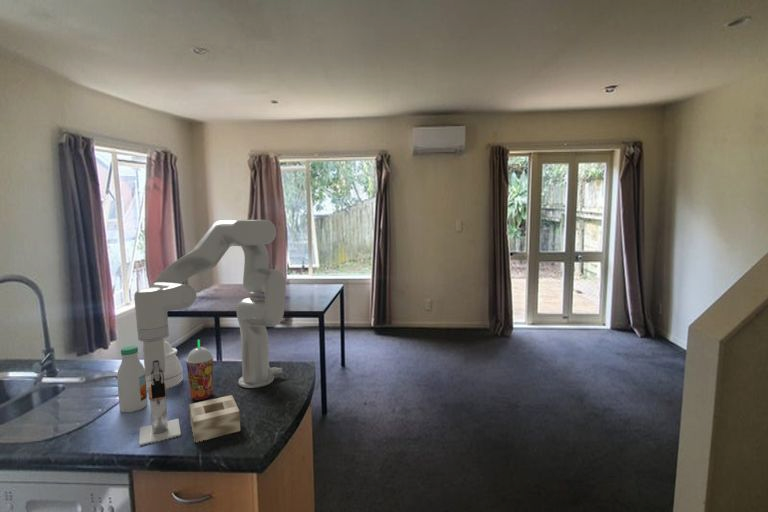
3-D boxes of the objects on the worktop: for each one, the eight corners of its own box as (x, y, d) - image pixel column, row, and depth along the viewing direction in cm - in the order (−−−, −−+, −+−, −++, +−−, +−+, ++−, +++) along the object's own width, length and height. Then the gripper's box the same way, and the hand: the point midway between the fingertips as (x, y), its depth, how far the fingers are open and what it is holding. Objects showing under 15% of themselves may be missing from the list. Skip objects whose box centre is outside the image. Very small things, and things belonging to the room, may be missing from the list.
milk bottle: (134, 414, 127) (129, 352, 125) (113, 412, 128) (108, 351, 126) (153, 403, 134) (148, 344, 132) (133, 401, 136) (128, 343, 134)
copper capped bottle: (151, 429, 117) (148, 385, 115) (168, 424, 119) (165, 382, 117) (151, 436, 113) (148, 391, 111) (169, 431, 115) (166, 388, 114)
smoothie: (182, 399, 136) (179, 342, 134) (201, 389, 144) (198, 335, 142) (202, 403, 133) (198, 344, 131) (220, 393, 141) (217, 337, 139)
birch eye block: (232, 413, 127) (231, 394, 126) (240, 430, 116) (239, 410, 116) (190, 423, 121) (189, 404, 120) (194, 442, 110) (193, 422, 110)
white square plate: (178, 420, 123) (178, 418, 123) (180, 435, 114) (180, 433, 114) (140, 429, 118) (140, 427, 118) (139, 446, 109) (139, 444, 109)
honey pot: (190, 380, 153) (187, 333, 151) (156, 393, 142) (152, 343, 140) (170, 373, 159) (167, 329, 157) (136, 385, 148) (132, 337, 146)
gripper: (138, 326, 118) (143, 382, 120) (137, 343, 104) (142, 406, 106) (167, 322, 122) (171, 376, 124) (170, 338, 107) (175, 399, 109)
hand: (158, 390), depth 115 cm, fingers open, 9 cm apart
